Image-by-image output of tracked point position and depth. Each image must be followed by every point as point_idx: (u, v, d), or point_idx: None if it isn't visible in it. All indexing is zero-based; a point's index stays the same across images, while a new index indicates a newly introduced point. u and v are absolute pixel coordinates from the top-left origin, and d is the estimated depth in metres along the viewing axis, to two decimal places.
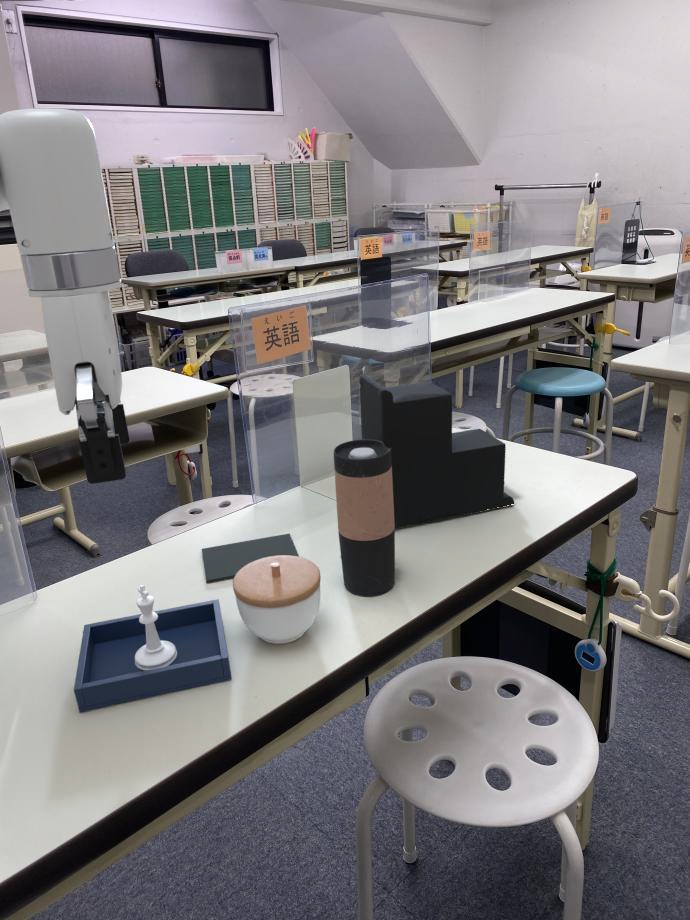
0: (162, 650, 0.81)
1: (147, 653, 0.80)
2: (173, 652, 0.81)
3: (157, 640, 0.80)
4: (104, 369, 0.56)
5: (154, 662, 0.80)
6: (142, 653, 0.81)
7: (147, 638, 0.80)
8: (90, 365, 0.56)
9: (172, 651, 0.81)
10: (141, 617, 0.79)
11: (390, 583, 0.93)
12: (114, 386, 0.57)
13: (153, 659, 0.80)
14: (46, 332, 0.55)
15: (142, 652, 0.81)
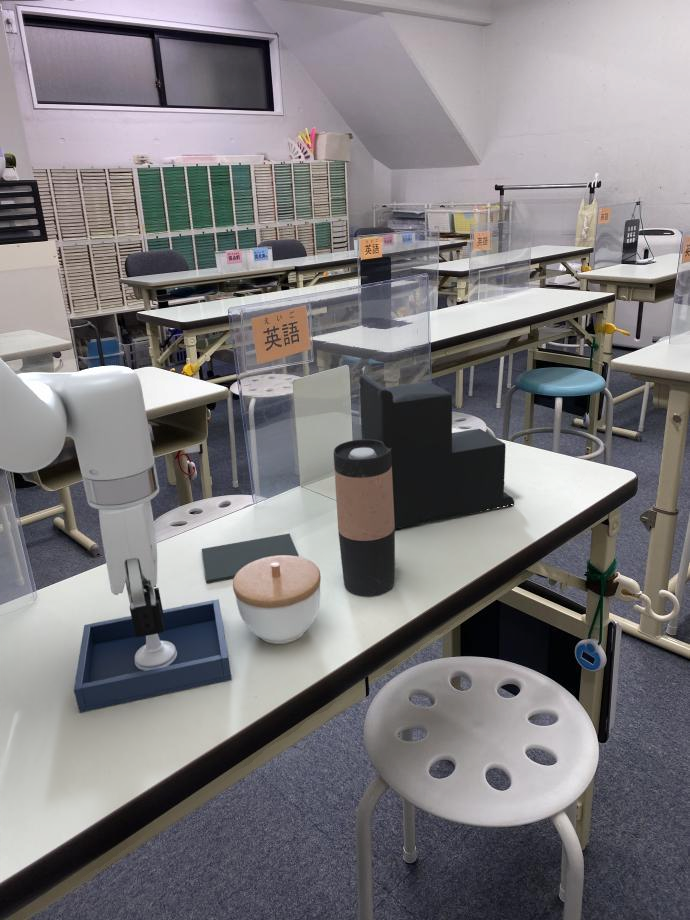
0: (162, 650, 0.81)
1: (147, 653, 0.80)
2: (173, 652, 0.81)
3: (157, 640, 0.80)
4: (147, 562, 0.72)
5: (154, 662, 0.80)
6: (142, 654, 0.81)
7: (147, 638, 0.80)
8: (138, 566, 0.72)
9: (172, 651, 0.81)
10: None
11: (390, 583, 0.93)
12: (154, 572, 0.73)
13: (153, 659, 0.80)
14: (103, 537, 0.70)
15: (142, 652, 0.81)
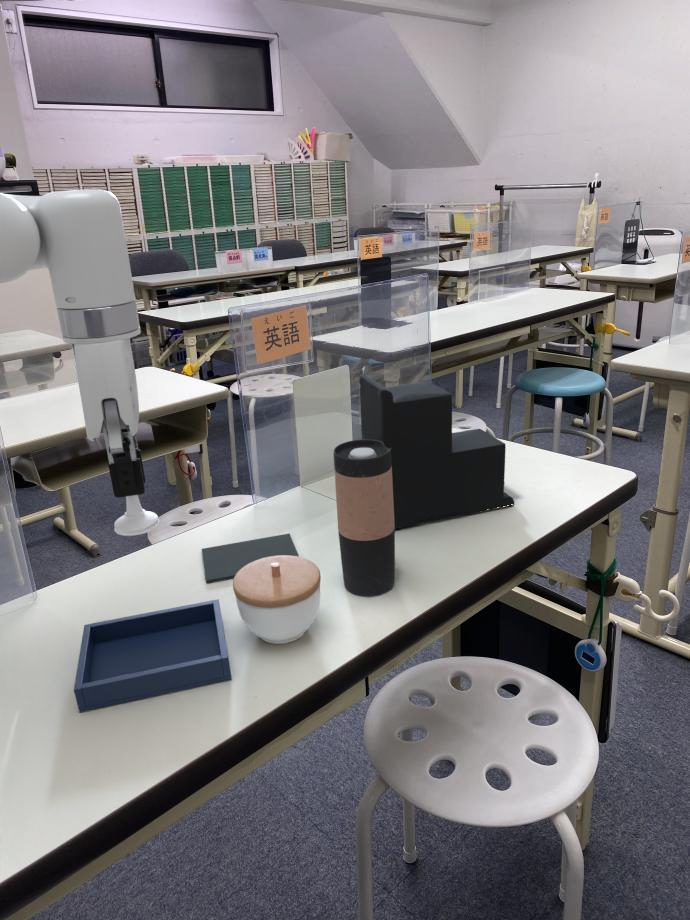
0: (143, 517, 0.76)
1: (127, 519, 0.75)
2: (155, 519, 0.76)
3: (138, 505, 0.75)
4: (125, 404, 0.67)
5: (134, 527, 0.75)
6: (122, 520, 0.76)
7: (127, 502, 0.75)
8: (116, 408, 0.67)
9: (154, 518, 0.76)
10: None
11: (390, 583, 0.93)
12: (133, 418, 0.68)
13: (133, 524, 0.75)
14: (78, 373, 0.66)
15: (122, 519, 0.76)
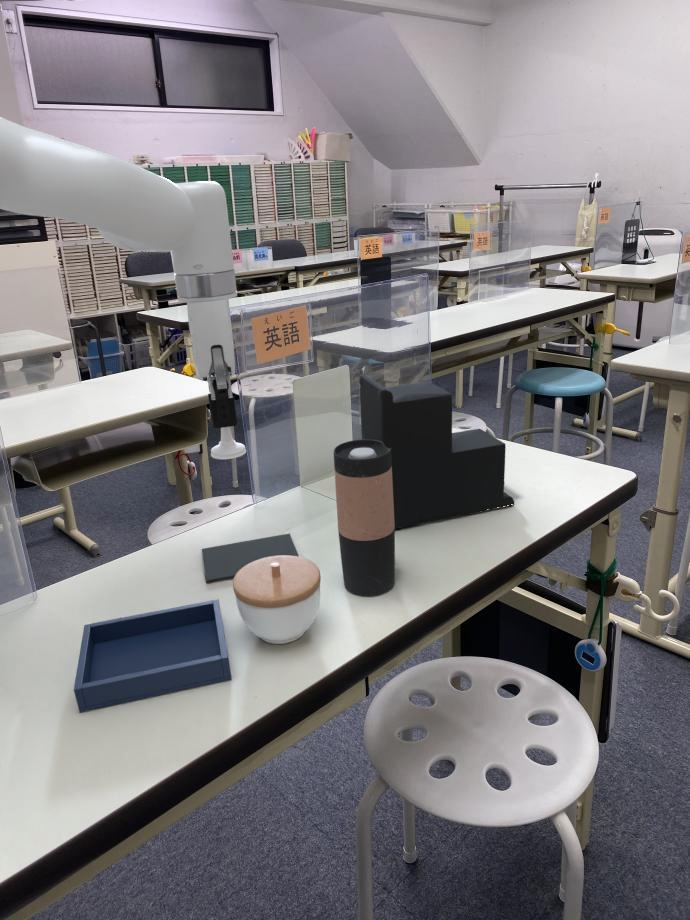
0: (234, 445, 0.94)
1: (222, 446, 0.94)
2: (243, 447, 0.95)
3: (230, 436, 0.94)
4: (229, 349, 0.86)
5: (228, 452, 0.93)
6: (217, 447, 0.94)
7: (222, 433, 0.94)
8: (221, 353, 0.86)
9: (242, 447, 0.95)
10: None
11: (390, 583, 0.93)
12: (234, 361, 0.87)
13: (227, 450, 0.93)
14: (193, 325, 0.84)
15: (217, 447, 0.95)
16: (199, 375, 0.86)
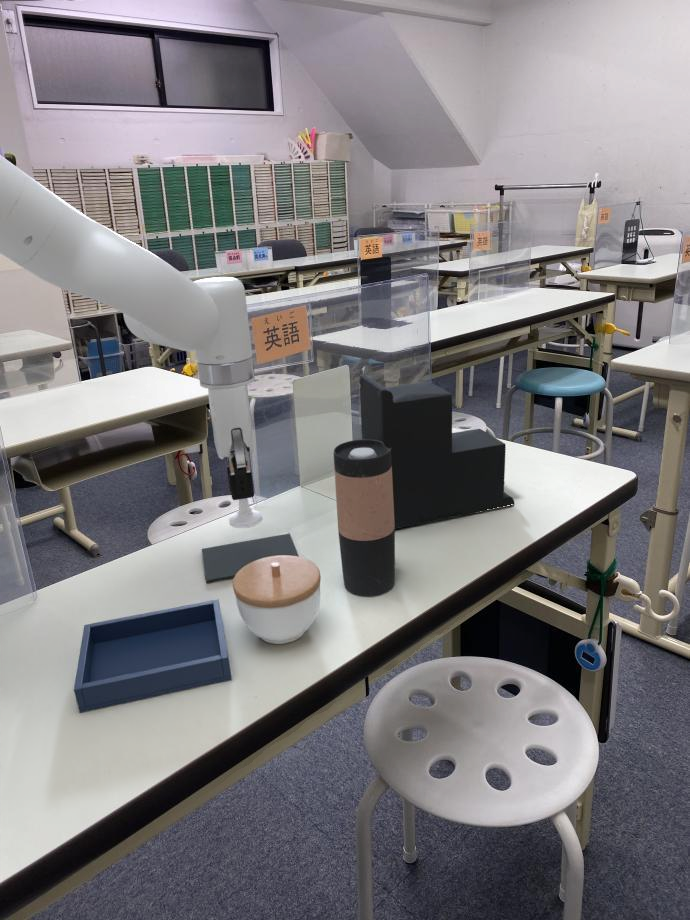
0: (251, 514, 1.01)
1: (240, 515, 1.00)
2: (260, 516, 1.01)
3: (247, 505, 1.00)
4: (248, 431, 0.92)
5: (246, 521, 0.99)
6: (235, 516, 1.01)
7: (240, 503, 1.00)
8: (240, 435, 0.92)
9: (259, 515, 1.01)
10: None
11: (390, 583, 0.93)
12: (252, 441, 0.93)
13: (245, 519, 1.00)
14: (215, 410, 0.90)
15: (235, 515, 1.01)
16: (220, 455, 0.92)
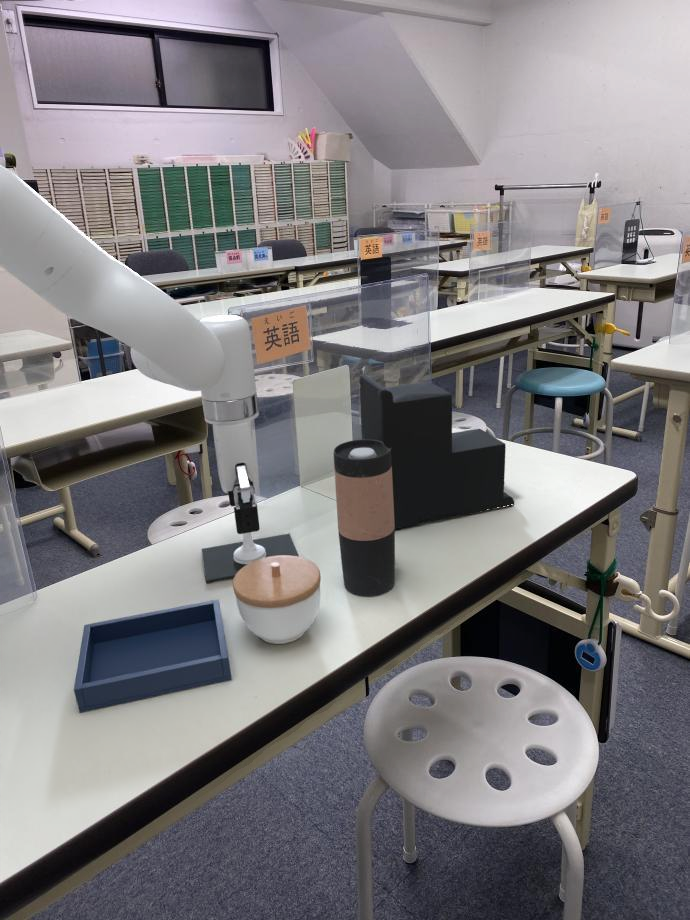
0: (255, 549, 1.03)
1: (244, 551, 1.02)
2: (264, 551, 1.03)
3: (251, 541, 1.02)
4: (251, 466, 0.94)
5: (250, 557, 1.01)
6: (240, 552, 1.03)
7: (244, 539, 1.02)
8: (244, 464, 0.93)
9: (263, 550, 1.03)
10: None
11: (390, 583, 0.93)
12: (256, 476, 0.95)
13: (249, 555, 1.02)
14: (219, 446, 0.92)
15: (239, 551, 1.03)
16: (224, 489, 0.94)
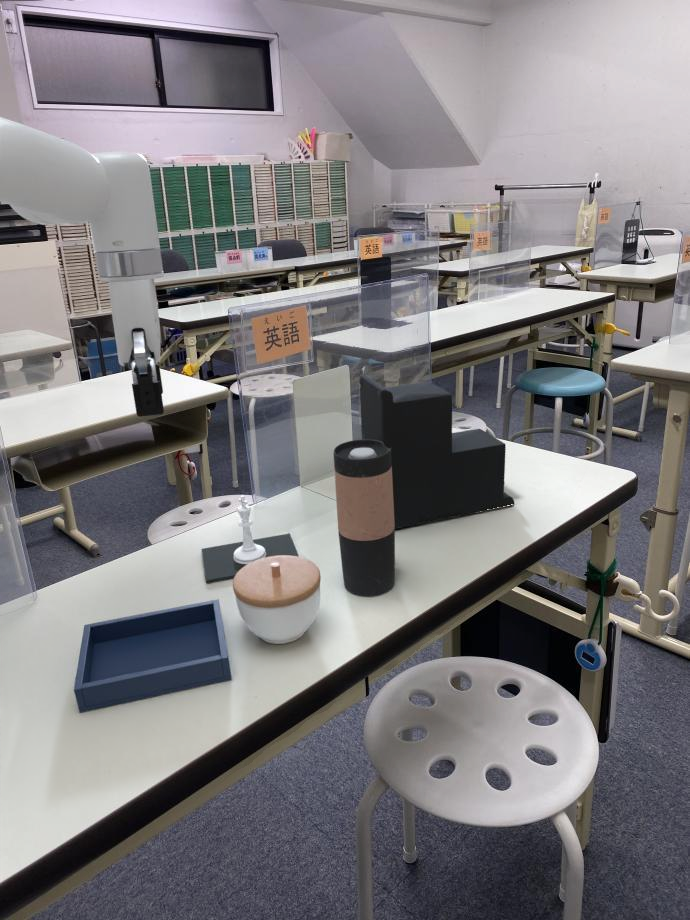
0: (255, 549, 1.03)
1: (244, 551, 1.02)
2: (264, 551, 1.03)
3: (251, 541, 1.02)
4: (151, 333, 0.80)
5: (250, 557, 1.01)
6: (240, 552, 1.03)
7: (244, 539, 1.02)
8: (142, 330, 0.79)
9: (263, 550, 1.03)
10: (240, 522, 1.01)
11: (390, 583, 0.93)
12: (158, 346, 0.81)
13: (249, 555, 1.02)
14: (112, 306, 0.78)
15: (239, 551, 1.03)
16: (119, 360, 0.80)
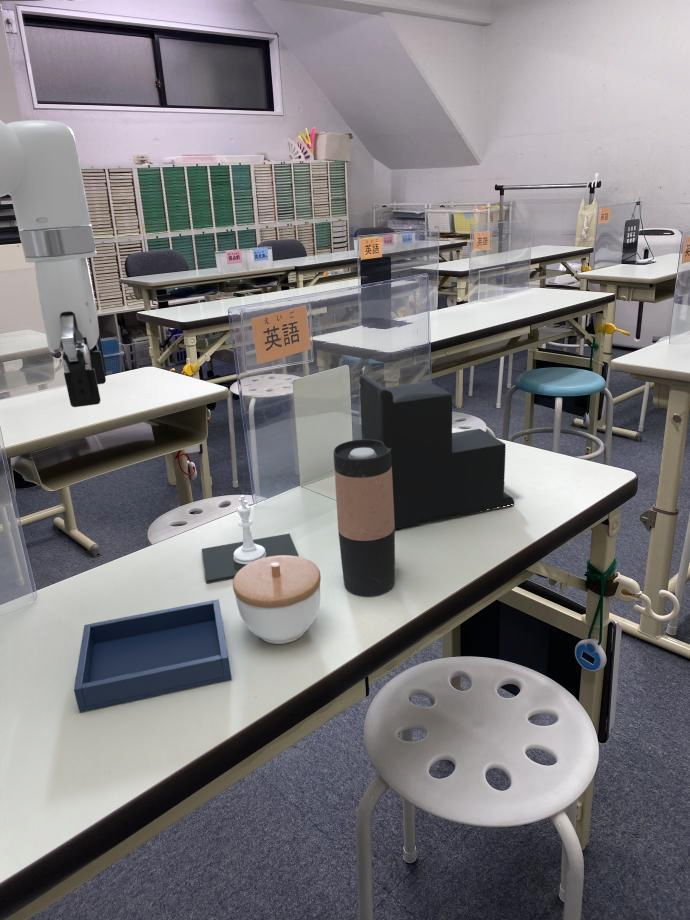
0: (255, 549, 1.03)
1: (244, 551, 1.02)
2: (264, 551, 1.03)
3: (251, 541, 1.02)
4: (82, 317, 0.74)
5: (250, 557, 1.01)
6: (240, 552, 1.03)
7: (244, 539, 1.02)
8: (72, 314, 0.74)
9: (263, 550, 1.03)
10: (240, 522, 1.01)
11: (390, 583, 0.93)
12: (90, 331, 0.75)
13: (249, 555, 1.02)
14: (38, 288, 0.73)
15: (239, 551, 1.03)
16: (49, 347, 0.75)
